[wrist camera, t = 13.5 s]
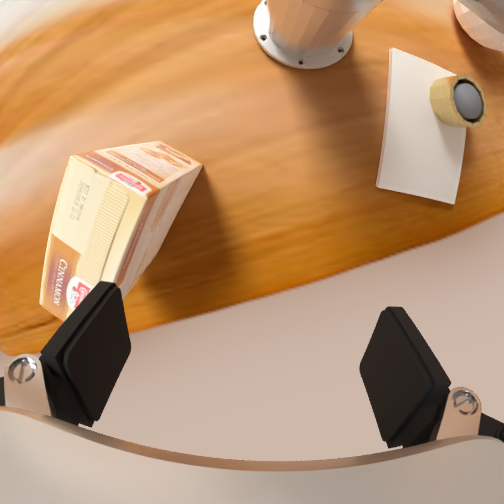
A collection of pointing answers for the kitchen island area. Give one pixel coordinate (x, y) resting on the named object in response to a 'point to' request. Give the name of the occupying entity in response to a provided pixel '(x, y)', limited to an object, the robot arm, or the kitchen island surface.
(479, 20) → the cup
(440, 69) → the stand
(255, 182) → the kitchen island surface
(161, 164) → the coffeecake box
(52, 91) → the kitchen island surface
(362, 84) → the kitchen island surface
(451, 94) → the brass ring
